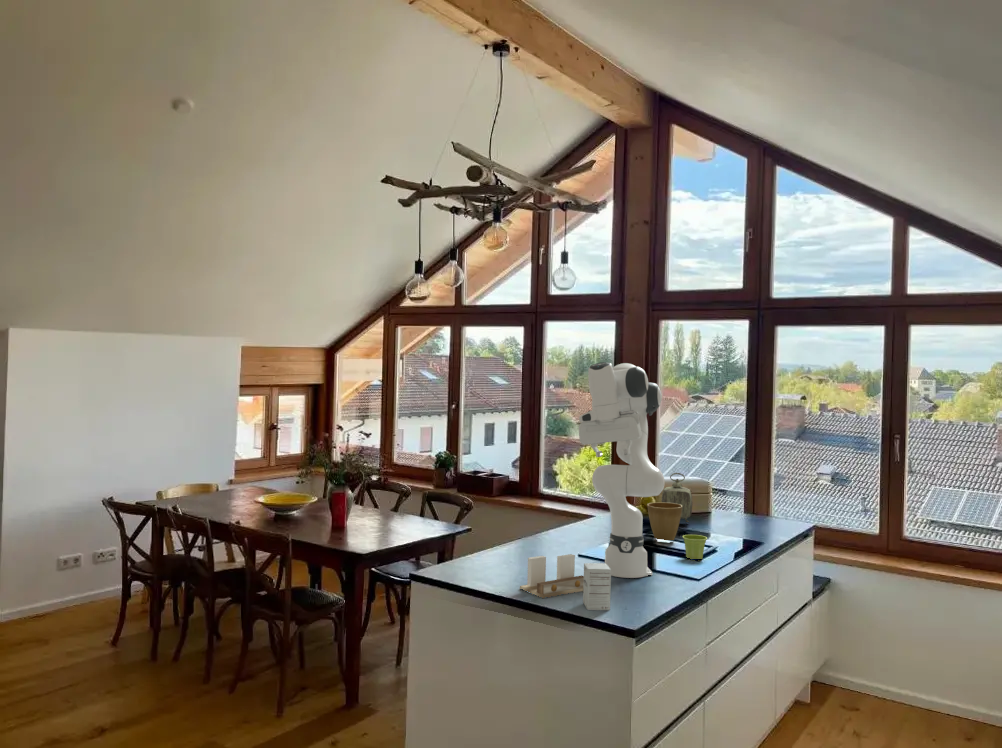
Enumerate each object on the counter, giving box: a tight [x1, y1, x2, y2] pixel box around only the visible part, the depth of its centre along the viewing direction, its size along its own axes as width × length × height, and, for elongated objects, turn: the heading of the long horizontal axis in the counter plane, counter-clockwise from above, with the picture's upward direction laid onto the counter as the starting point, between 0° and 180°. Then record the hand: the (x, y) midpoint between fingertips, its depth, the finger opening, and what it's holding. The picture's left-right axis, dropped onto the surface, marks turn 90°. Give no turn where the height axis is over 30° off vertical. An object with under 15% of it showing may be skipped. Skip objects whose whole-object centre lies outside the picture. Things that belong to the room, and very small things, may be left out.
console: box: [519, 575, 584, 599], centre depth 261 cm, size 12×19×4 cm, turn 126°
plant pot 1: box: [646, 501, 682, 540], centre depth 343 cm, size 15×15×16 cm
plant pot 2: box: [682, 534, 708, 560], centre depth 311 cm, size 9×9×9 cm
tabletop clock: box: [661, 472, 693, 523], centre depth 384 cm, size 14×9×25 cm, turn 79°
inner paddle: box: [556, 553, 576, 580], centre depth 264 cm, size 2×6×9 cm, turn 126°
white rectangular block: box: [526, 555, 547, 587], centre depth 261 cm, size 2×6×9 cm, turn 126°
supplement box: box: [582, 562, 612, 611], centre depth 243 cm, size 7×7×13 cm
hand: (613, 455), depth 254 cm, fingers open, 8 cm apart
